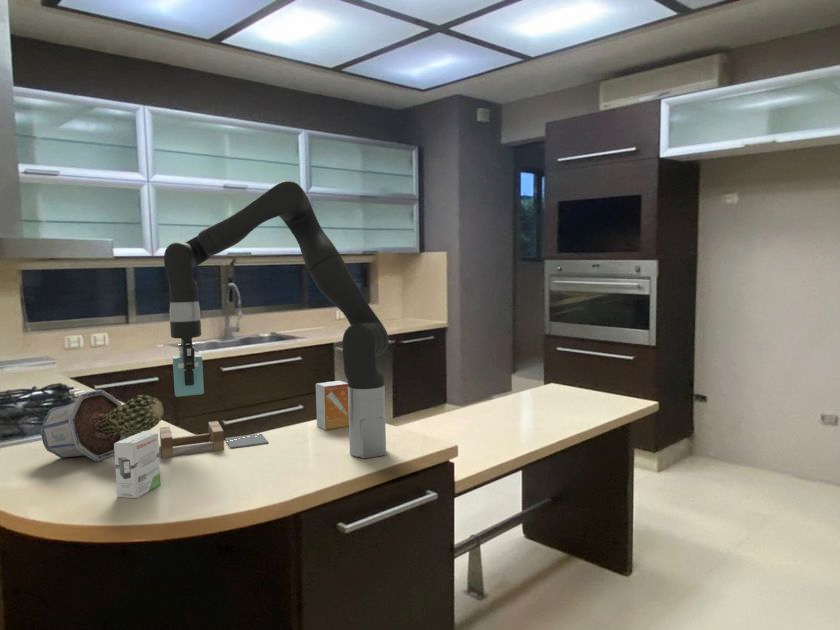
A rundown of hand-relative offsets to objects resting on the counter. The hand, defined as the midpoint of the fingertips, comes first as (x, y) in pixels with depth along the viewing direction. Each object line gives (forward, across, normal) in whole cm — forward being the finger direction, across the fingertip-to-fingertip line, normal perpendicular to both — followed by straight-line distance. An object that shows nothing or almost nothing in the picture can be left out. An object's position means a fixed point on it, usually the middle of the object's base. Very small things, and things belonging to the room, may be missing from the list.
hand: (188, 383), depth 163 cm
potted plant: (+18, +1, +20) cm, 27 cm away
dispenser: (+17, 0, 0) cm, 17 cm away
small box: (+18, +3, -40) cm, 44 cm away
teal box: (+3, 0, 0) cm, 3 cm away
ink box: (+18, -29, +13) cm, 36 cm away
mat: (+17, -1, -14) cm, 22 cm away
